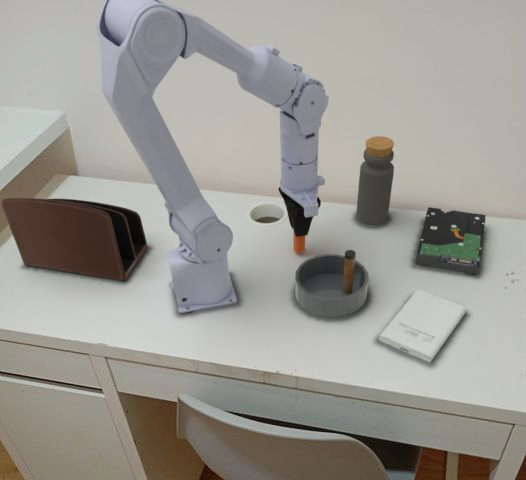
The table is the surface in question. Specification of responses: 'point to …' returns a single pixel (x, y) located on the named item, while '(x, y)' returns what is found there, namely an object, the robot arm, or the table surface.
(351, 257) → the brown slender rod
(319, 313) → the pot
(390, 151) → the bottle
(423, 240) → the disk drive
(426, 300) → the hard drive
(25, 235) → the letter holder
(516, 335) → the table surface
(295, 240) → the marker
